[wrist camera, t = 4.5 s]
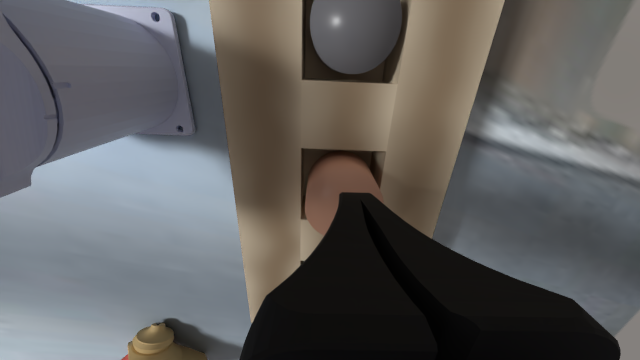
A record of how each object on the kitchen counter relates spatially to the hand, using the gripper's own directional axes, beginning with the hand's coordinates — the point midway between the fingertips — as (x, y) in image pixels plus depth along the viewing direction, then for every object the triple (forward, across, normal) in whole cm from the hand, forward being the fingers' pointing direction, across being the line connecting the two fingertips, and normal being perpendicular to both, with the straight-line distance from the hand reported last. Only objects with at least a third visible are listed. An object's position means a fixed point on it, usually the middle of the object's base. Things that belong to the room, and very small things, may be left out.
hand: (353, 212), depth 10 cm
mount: (+9, 0, +1) cm, 9 cm away
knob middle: (+6, 0, +1) cm, 6 cm away
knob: (+8, 0, -8) cm, 11 cm away
